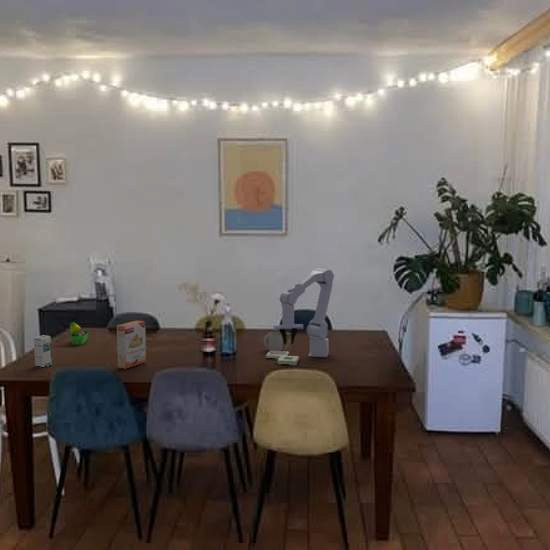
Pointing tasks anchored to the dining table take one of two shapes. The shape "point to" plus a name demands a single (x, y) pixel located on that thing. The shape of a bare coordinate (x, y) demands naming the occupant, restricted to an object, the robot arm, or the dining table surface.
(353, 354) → the dining table surface
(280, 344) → the cup
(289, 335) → the peg
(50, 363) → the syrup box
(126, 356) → the cracker box
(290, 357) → the holder
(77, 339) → the fruit basket
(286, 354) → the tray
